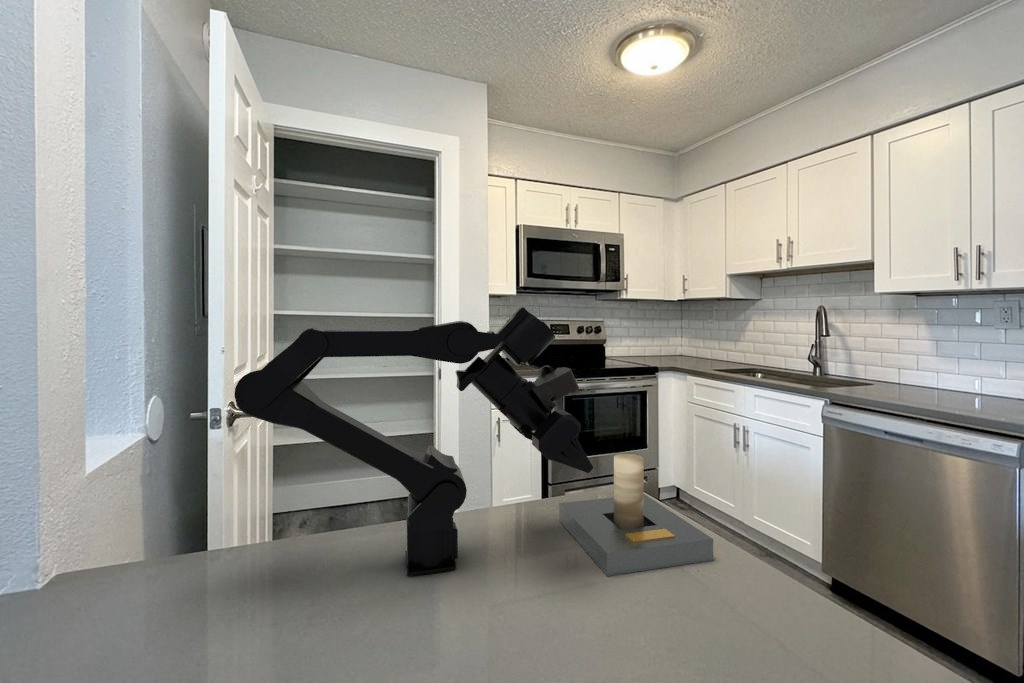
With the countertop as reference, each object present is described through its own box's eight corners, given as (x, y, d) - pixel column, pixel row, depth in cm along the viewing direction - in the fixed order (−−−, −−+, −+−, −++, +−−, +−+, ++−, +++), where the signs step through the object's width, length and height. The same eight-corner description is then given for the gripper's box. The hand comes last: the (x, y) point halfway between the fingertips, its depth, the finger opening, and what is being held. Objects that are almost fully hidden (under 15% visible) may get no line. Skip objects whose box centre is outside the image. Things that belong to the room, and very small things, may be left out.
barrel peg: (632, 548, 67) (632, 463, 67) (607, 538, 70) (607, 457, 70) (649, 539, 70) (649, 458, 69) (625, 529, 73) (625, 452, 73)
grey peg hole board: (607, 576, 59) (607, 551, 59) (559, 520, 77) (559, 501, 77) (713, 560, 63) (713, 537, 63) (644, 510, 81) (644, 493, 81)
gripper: (565, 351, 57) (645, 434, 60) (528, 347, 76) (591, 410, 78) (504, 416, 56) (588, 499, 58) (481, 396, 74) (546, 459, 77)
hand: (579, 461), depth 68 cm, fingers open, 9 cm apart
